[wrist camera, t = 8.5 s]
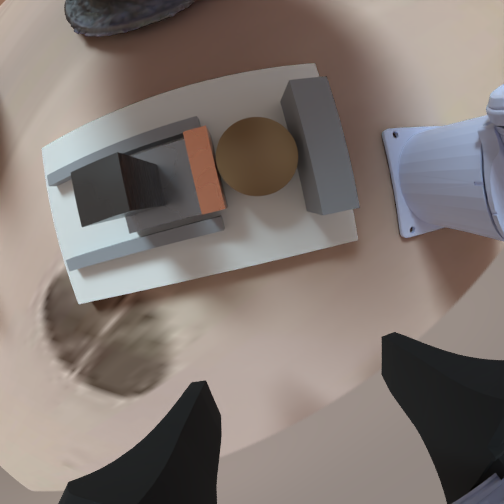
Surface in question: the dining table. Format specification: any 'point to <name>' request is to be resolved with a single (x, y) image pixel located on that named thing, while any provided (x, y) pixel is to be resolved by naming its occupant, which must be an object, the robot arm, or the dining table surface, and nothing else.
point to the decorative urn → (118, 14)
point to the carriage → (152, 184)
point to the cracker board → (239, 205)
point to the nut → (257, 156)
